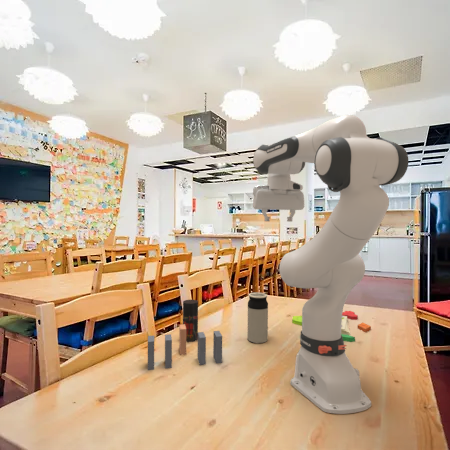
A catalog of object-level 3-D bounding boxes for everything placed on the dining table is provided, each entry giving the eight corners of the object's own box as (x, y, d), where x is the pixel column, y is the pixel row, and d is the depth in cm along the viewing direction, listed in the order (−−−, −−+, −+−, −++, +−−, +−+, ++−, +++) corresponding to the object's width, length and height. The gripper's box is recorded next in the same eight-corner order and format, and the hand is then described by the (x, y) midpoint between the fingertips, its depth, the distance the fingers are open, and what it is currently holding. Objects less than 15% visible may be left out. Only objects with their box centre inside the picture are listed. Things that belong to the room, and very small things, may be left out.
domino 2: (170, 360, 104) (171, 334, 104) (171, 367, 99) (171, 340, 99) (164, 361, 103) (165, 334, 103) (165, 368, 99) (165, 340, 98)
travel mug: (266, 344, 118) (267, 297, 118) (246, 342, 120) (246, 296, 119) (268, 336, 126) (268, 292, 125) (248, 335, 127) (249, 291, 127)
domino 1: (154, 362, 103) (154, 335, 102) (154, 369, 98) (154, 341, 98) (147, 363, 102) (148, 336, 102) (147, 370, 97) (147, 341, 97)
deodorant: (180, 337, 124) (181, 300, 124) (194, 335, 127) (194, 298, 127) (185, 343, 119) (186, 304, 119) (200, 340, 122) (200, 302, 121)
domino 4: (203, 357, 106) (203, 331, 106) (205, 364, 101) (205, 337, 101) (197, 358, 106) (197, 332, 106) (199, 365, 101) (199, 337, 101)
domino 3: (184, 348, 114) (184, 324, 114) (186, 354, 109) (186, 329, 109) (179, 349, 113) (179, 324, 113) (180, 354, 109) (180, 329, 108)
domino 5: (218, 356, 108) (219, 330, 107) (222, 363, 103) (222, 336, 102) (213, 356, 107) (213, 331, 107) (216, 363, 102) (216, 336, 102)
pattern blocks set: (383, 345, 119) (383, 337, 119) (294, 339, 125) (294, 331, 125) (357, 315, 157) (357, 309, 157) (290, 311, 162) (290, 305, 162)
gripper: (255, 184, 115) (255, 221, 115) (306, 185, 119) (306, 221, 119) (250, 185, 121) (250, 221, 121) (299, 187, 125) (298, 221, 125)
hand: (278, 221), depth 120 cm, fingers open, 8 cm apart
